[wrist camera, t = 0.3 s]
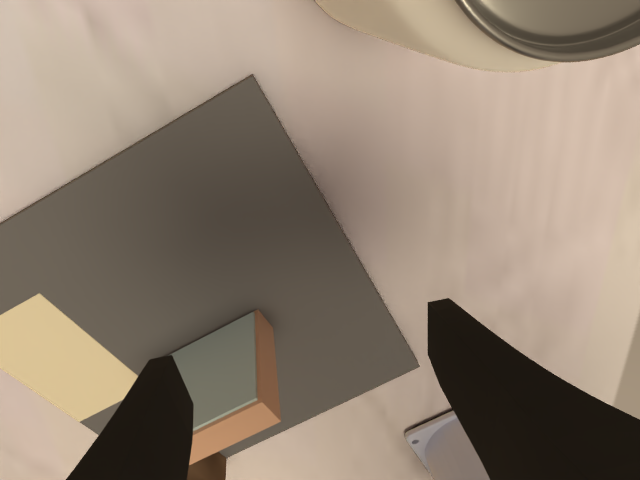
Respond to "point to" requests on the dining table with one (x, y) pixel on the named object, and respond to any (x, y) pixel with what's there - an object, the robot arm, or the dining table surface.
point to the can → (497, 29)
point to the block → (208, 468)
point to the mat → (191, 270)
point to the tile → (231, 384)
